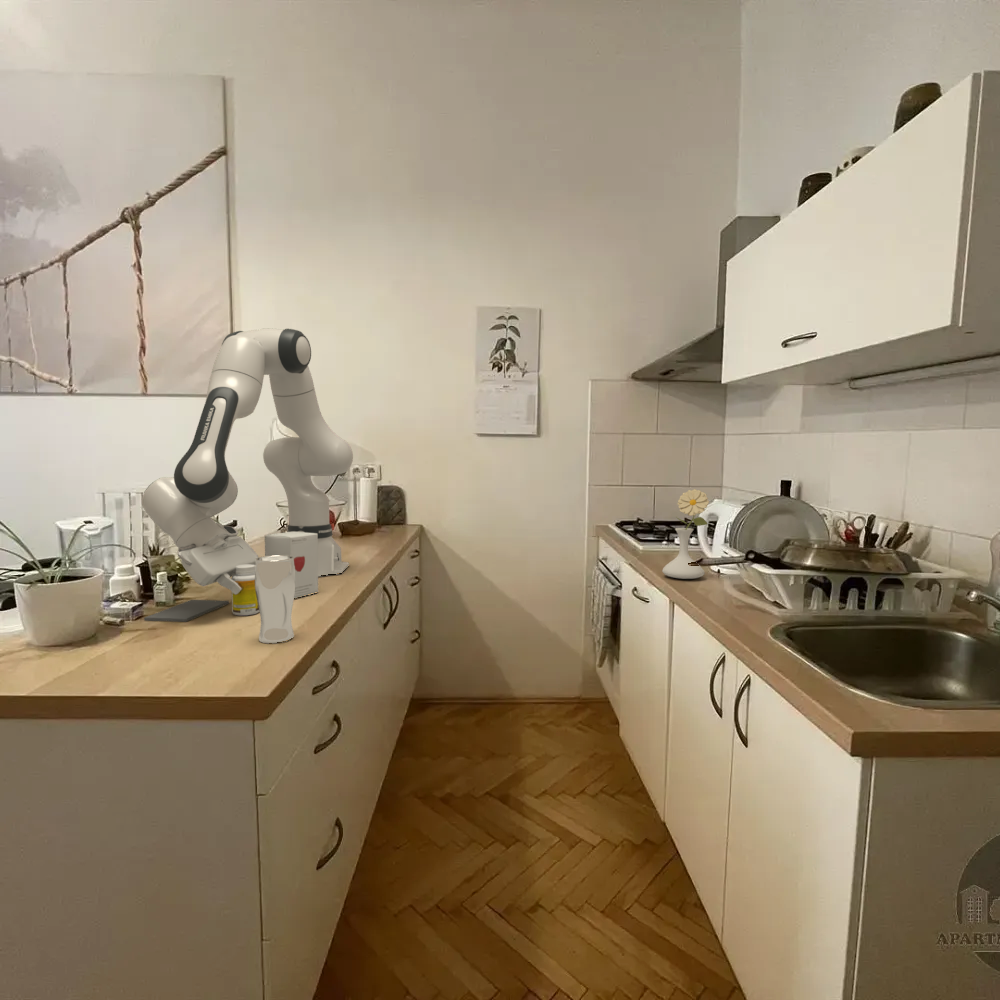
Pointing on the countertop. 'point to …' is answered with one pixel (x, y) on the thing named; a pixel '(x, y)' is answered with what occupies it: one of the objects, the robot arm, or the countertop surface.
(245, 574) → the supplement bottle
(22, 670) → the countertop surface
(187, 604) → the mat
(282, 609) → the beer glass
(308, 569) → the supplement box
